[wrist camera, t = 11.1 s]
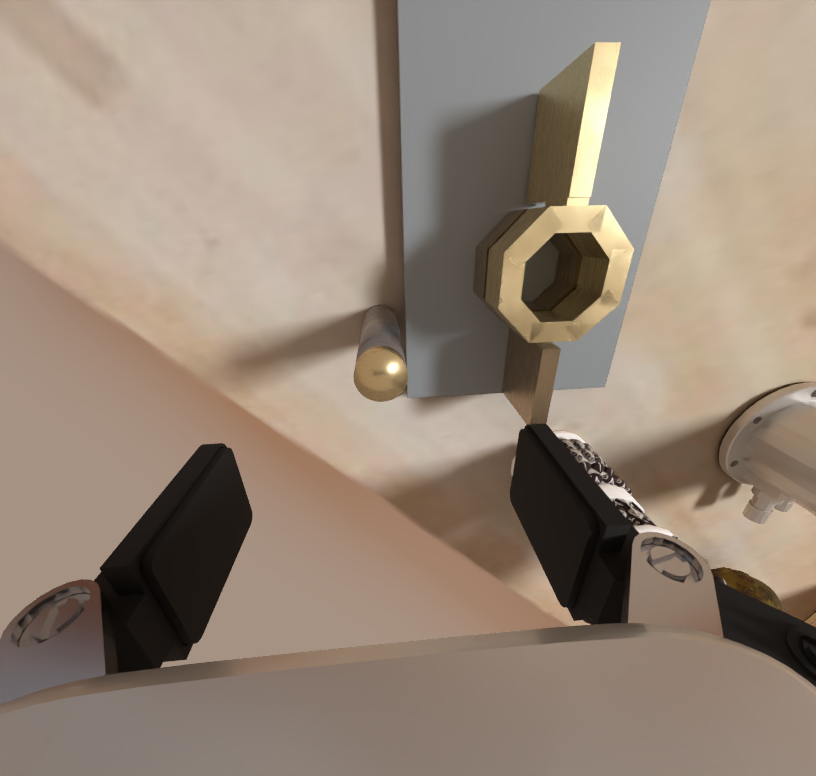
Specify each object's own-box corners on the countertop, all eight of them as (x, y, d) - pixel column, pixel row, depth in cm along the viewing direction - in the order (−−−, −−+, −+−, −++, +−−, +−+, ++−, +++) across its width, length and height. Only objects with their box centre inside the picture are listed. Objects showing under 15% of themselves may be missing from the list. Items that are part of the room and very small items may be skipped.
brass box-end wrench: (565, 317, 26) (610, 339, 21) (471, 321, 26) (494, 344, 21) (609, 90, 20) (688, 43, 15) (487, 90, 19) (525, 41, 14)
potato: (633, 586, 46) (680, 652, 39) (721, 539, 43) (790, 601, 36) (656, 608, 49) (703, 673, 42) (740, 566, 46) (806, 628, 39)
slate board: (596, 381, 31) (604, 387, 30) (406, 391, 30) (407, 398, 29) (707, -43, 19) (727, -59, 18) (395, -52, 18) (396, -69, 17)
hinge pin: (398, 338, 27) (408, 400, 18) (364, 339, 27) (356, 403, 17) (397, 304, 26) (407, 350, 16) (361, 305, 26) (351, 353, 16)
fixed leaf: (549, 388, 29) (587, 424, 24) (466, 392, 29) (486, 430, 23) (583, 209, 23) (645, 203, 18) (478, 211, 23) (508, 206, 17)
